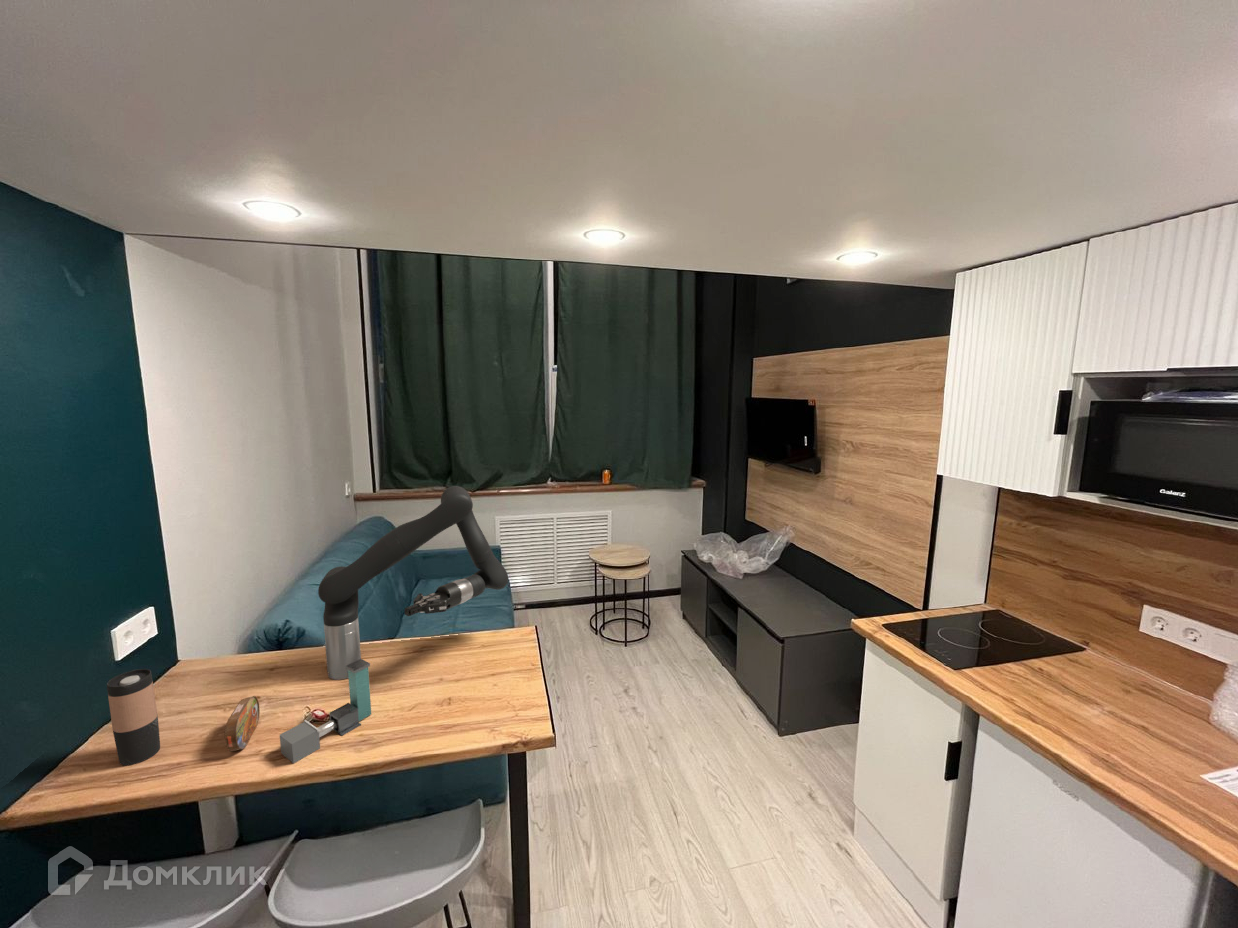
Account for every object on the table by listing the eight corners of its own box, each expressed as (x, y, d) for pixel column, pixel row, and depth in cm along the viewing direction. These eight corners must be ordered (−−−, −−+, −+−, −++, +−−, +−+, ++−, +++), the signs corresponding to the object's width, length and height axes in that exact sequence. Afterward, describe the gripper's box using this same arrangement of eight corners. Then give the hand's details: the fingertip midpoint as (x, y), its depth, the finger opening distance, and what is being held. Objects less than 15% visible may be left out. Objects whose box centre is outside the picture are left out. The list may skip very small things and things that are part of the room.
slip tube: (294, 747, 120) (289, 691, 118) (364, 708, 135) (360, 658, 133) (302, 754, 118) (297, 697, 116) (373, 713, 133) (369, 663, 131)
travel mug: (137, 744, 121) (126, 669, 118) (170, 742, 122) (160, 667, 119) (108, 767, 114) (95, 687, 111) (143, 765, 114) (132, 686, 111)
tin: (240, 756, 117) (236, 724, 116) (224, 759, 116) (220, 727, 115) (262, 717, 131) (259, 688, 130) (248, 720, 130) (244, 691, 129)
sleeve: (328, 726, 128) (327, 711, 127) (347, 716, 132) (346, 701, 132) (342, 735, 125) (340, 720, 124) (361, 724, 129) (360, 709, 128)
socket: (280, 753, 119) (278, 733, 118) (307, 738, 124) (305, 719, 123) (294, 763, 115) (292, 743, 114) (320, 748, 120) (319, 729, 119)
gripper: (440, 577, 159) (391, 594, 144) (468, 586, 152) (420, 605, 137) (441, 599, 160) (392, 618, 145) (469, 609, 153) (420, 631, 138)
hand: (406, 612), depth 141 cm, fingers closed
